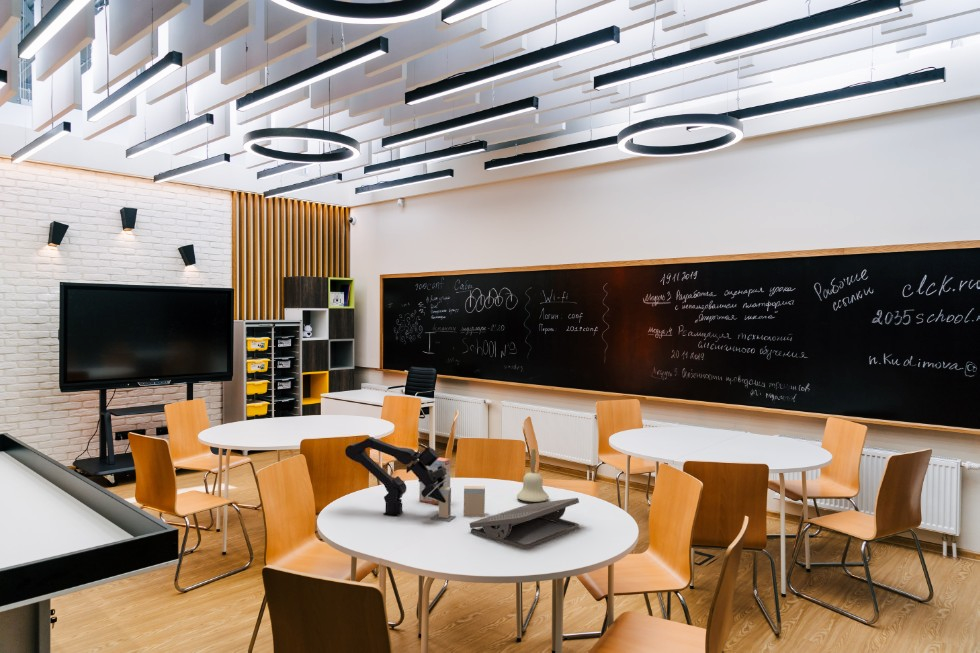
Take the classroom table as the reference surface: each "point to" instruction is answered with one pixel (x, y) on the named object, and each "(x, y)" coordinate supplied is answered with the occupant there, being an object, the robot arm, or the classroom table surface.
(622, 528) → the classroom table surface
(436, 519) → the mat
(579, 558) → the classroom table surface
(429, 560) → the classroom table surface
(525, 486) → the handbell
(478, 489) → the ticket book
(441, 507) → the stub
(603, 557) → the classroom table surface
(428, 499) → the cracker box
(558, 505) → the foot rest
